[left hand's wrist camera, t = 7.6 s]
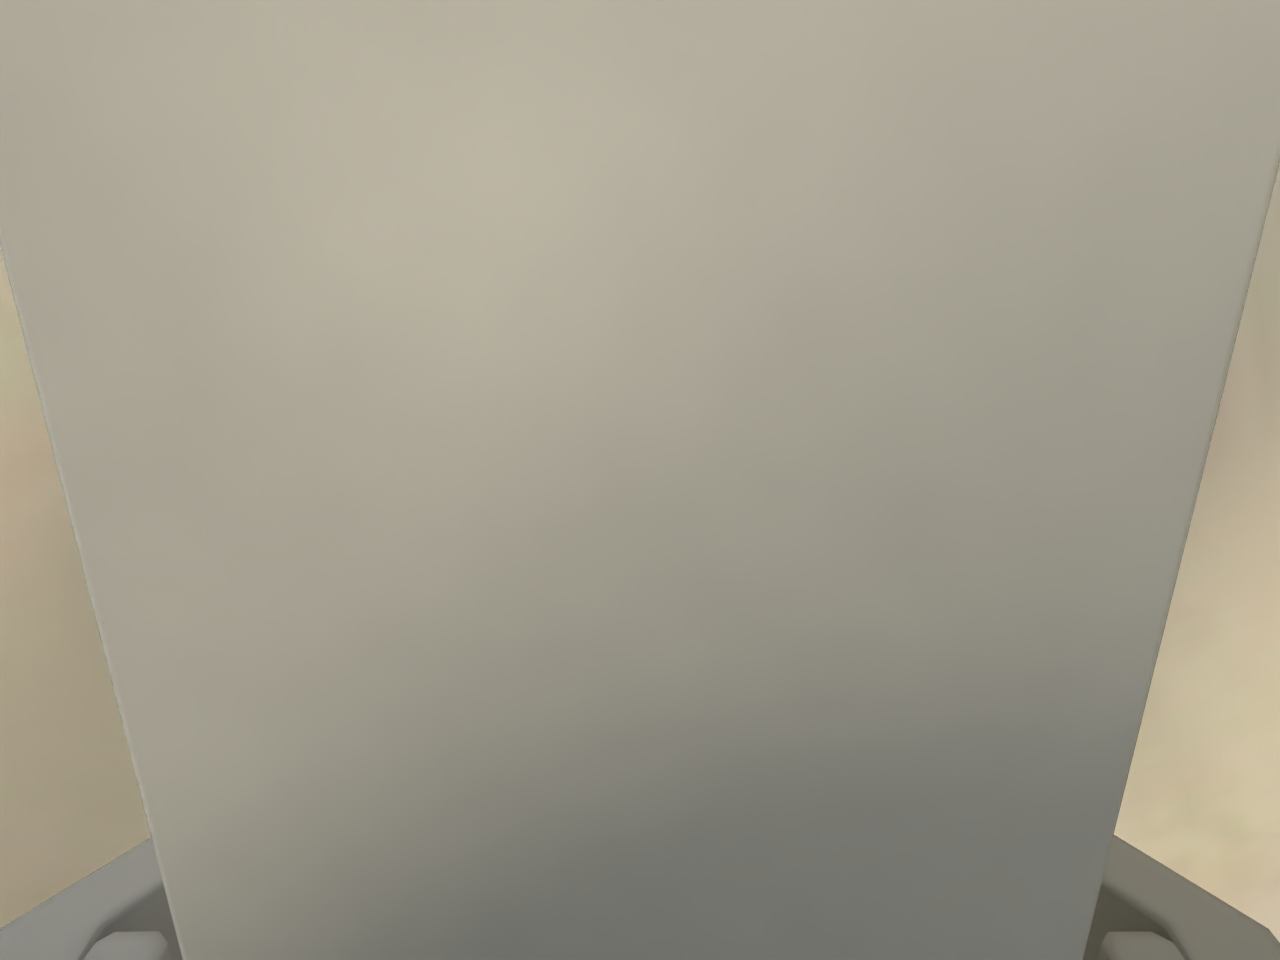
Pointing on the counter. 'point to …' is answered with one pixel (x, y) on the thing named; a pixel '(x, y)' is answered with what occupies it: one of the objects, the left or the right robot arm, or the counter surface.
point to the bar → (633, 449)
